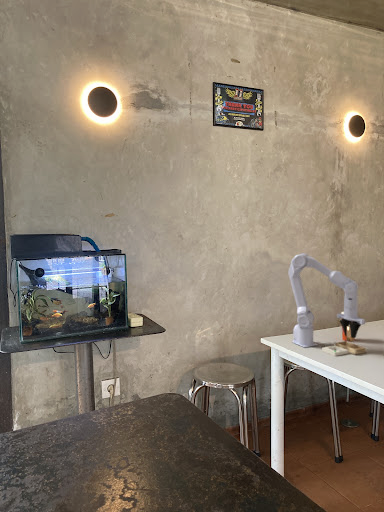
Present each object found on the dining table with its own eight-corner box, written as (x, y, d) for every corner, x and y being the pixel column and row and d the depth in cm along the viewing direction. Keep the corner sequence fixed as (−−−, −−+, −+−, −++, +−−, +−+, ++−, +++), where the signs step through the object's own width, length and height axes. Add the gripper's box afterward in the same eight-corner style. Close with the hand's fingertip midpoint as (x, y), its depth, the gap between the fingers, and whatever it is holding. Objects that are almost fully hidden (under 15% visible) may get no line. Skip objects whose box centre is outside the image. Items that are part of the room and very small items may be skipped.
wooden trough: (335, 347, 180) (335, 342, 180) (345, 345, 183) (345, 341, 183) (355, 355, 169) (355, 350, 169) (365, 352, 172) (365, 348, 172)
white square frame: (321, 350, 176) (321, 346, 176) (335, 348, 179) (335, 344, 179) (334, 356, 168) (334, 351, 168) (348, 353, 172) (348, 349, 172)
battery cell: (344, 340, 177) (345, 324, 176) (350, 339, 178) (350, 323, 177) (350, 342, 174) (350, 326, 173) (355, 341, 175) (355, 325, 174)
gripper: (370, 309, 170) (369, 339, 171) (344, 303, 183) (344, 331, 184) (358, 311, 167) (358, 341, 168) (333, 305, 180) (333, 333, 181)
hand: (350, 336), depth 176 cm, fingers closed on battery cell, 3 cm apart
